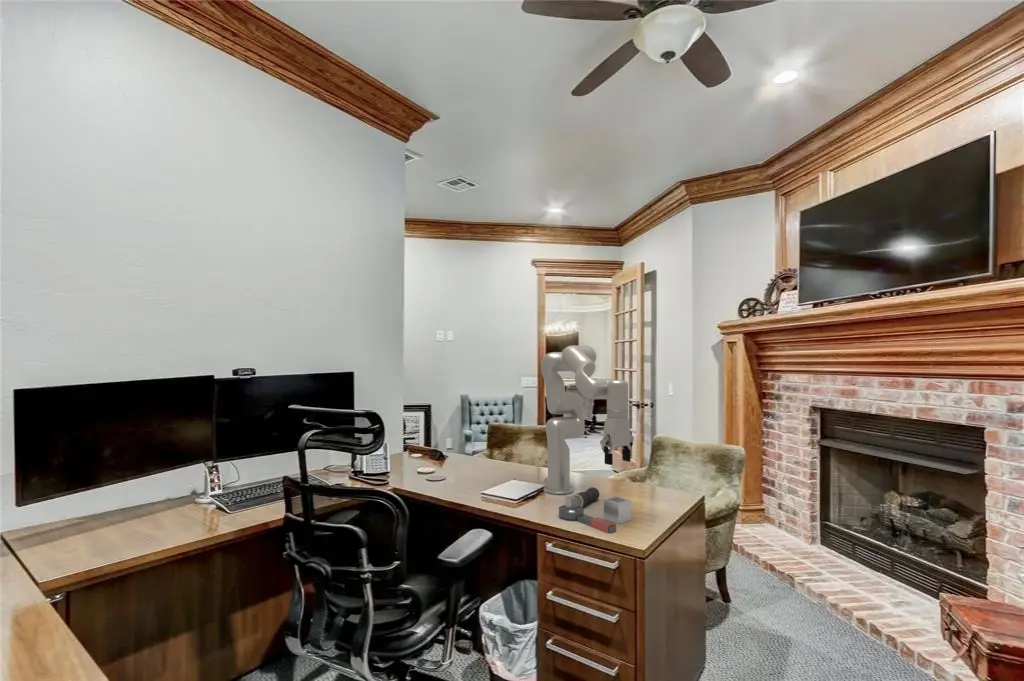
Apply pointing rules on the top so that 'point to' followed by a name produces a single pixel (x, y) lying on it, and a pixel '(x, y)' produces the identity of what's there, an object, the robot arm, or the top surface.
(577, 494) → the flashlight
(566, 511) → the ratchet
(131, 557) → the top surface
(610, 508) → the socket
